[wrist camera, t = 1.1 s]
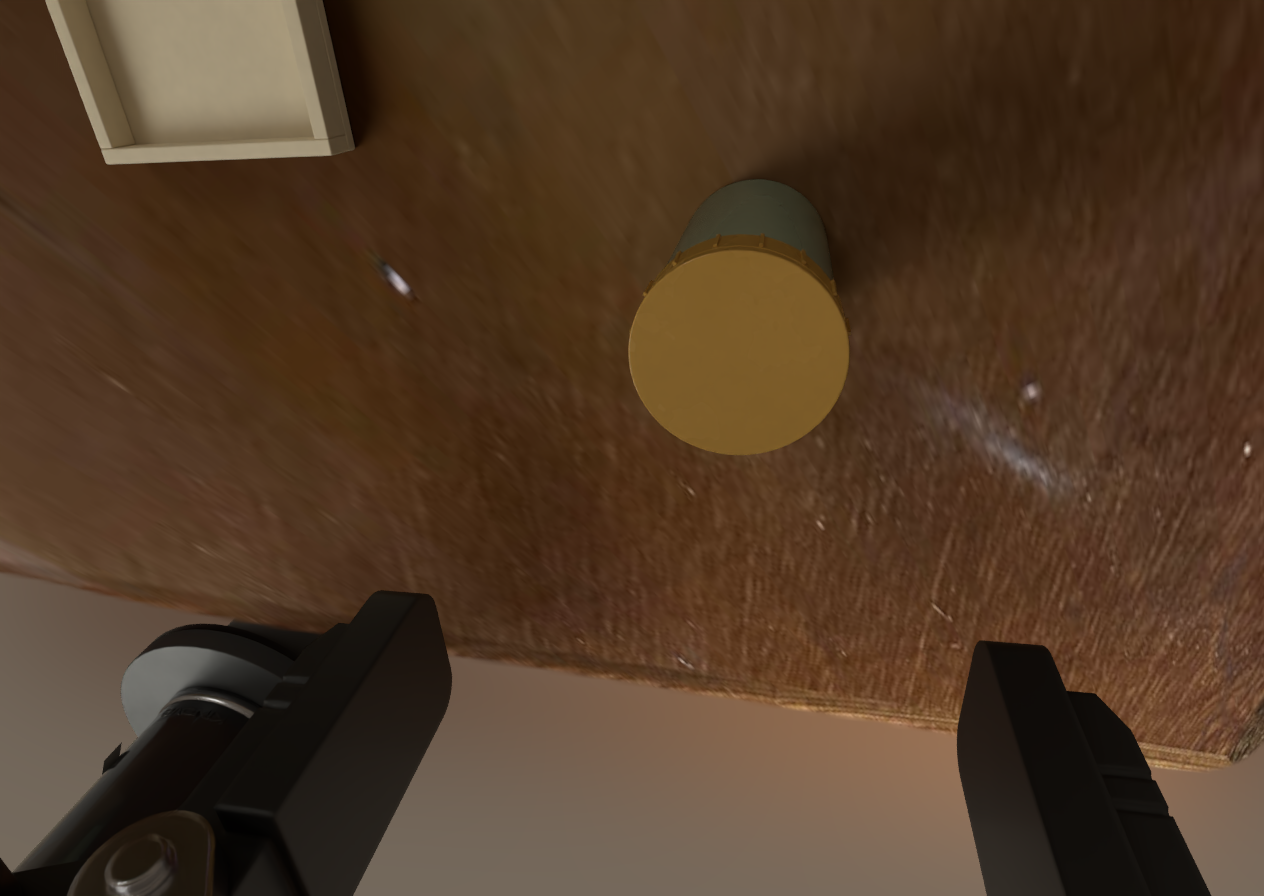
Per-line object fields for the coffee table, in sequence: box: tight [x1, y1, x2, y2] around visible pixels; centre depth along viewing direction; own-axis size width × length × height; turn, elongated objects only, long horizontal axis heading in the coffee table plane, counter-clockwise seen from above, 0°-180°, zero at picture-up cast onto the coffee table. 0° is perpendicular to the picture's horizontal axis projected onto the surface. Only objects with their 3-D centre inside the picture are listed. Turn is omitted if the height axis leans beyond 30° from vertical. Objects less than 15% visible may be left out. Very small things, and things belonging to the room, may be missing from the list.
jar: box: [667, 179, 834, 280], centre depth 25 cm, size 6×6×10 cm
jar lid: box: [628, 233, 851, 455], centre depth 21 cm, size 6×6×2 cm
